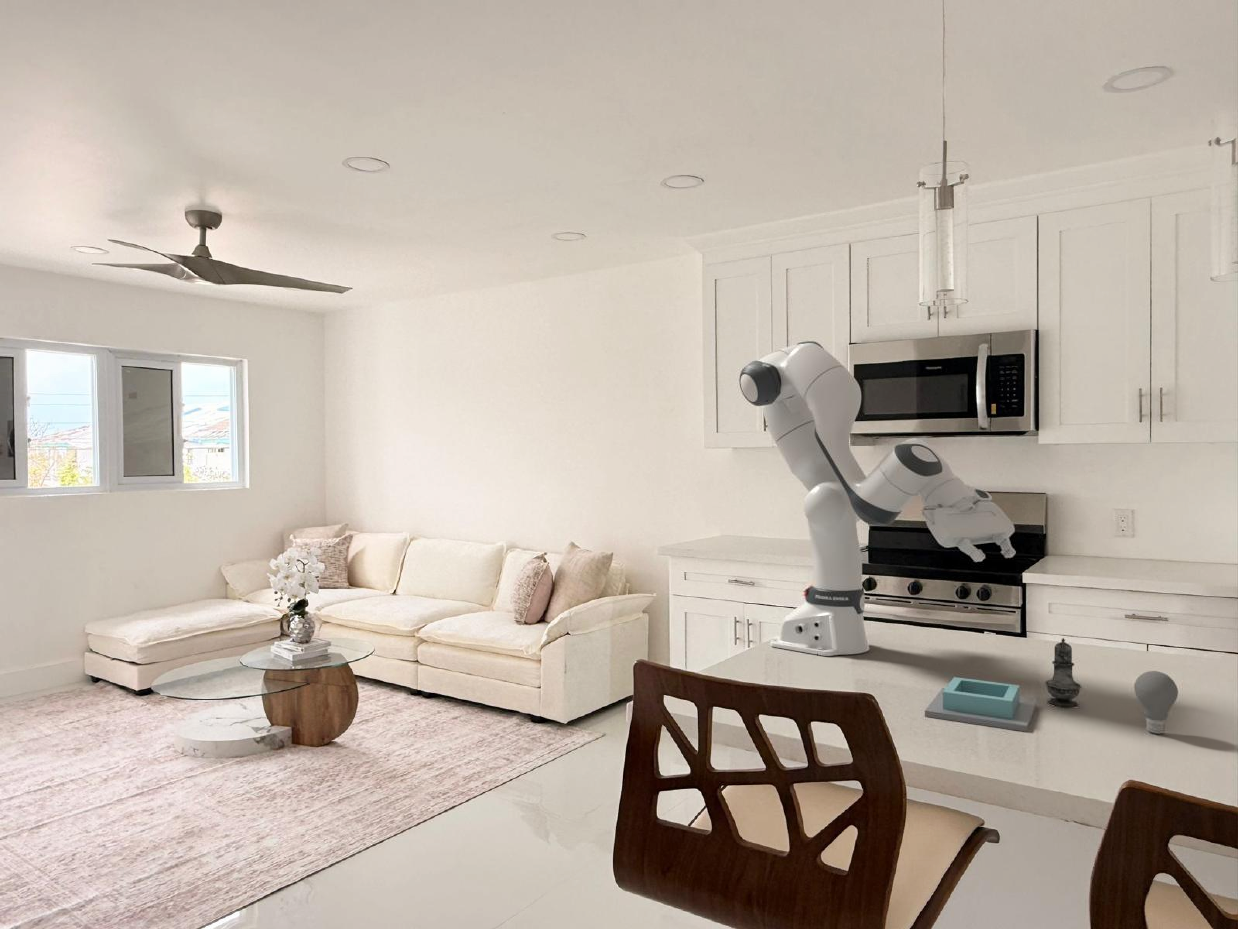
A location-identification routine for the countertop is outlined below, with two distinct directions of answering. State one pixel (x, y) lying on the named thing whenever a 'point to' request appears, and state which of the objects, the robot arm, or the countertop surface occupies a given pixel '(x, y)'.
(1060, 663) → the salt shaker
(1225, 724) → the countertop surface
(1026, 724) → the socket
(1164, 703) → the light bulb
